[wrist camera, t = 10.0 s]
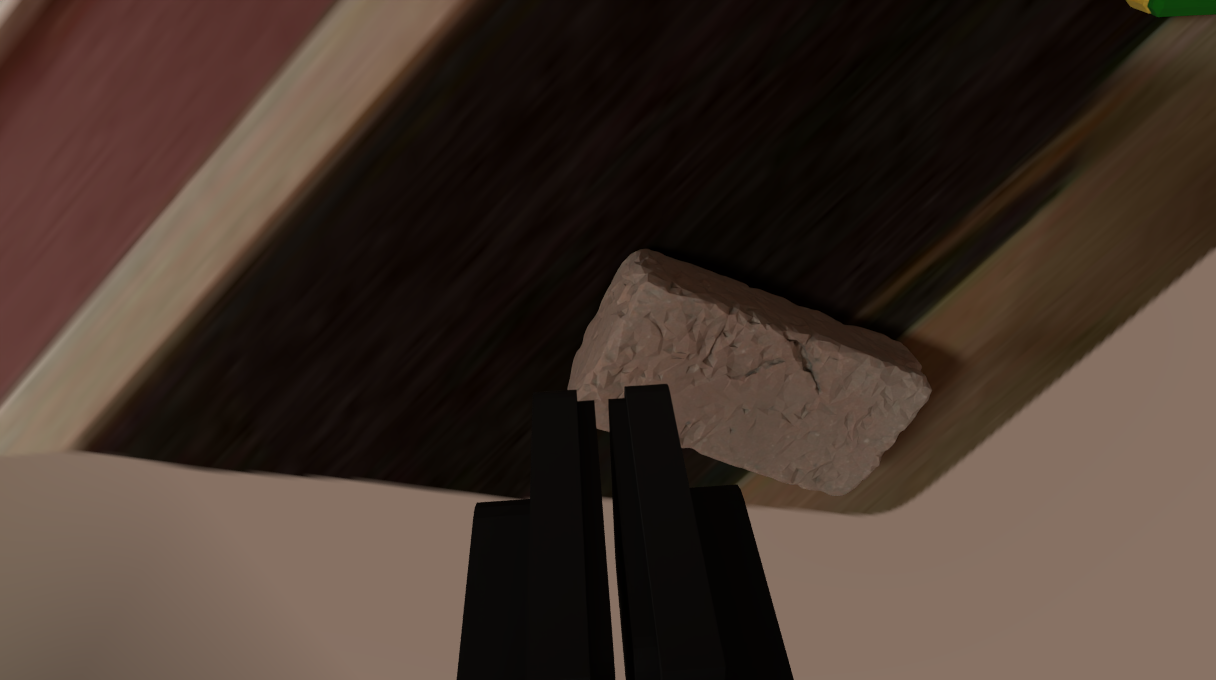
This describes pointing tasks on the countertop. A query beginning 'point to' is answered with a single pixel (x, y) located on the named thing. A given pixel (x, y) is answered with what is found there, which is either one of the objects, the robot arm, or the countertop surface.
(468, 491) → the countertop surface
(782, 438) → the brick
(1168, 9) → the dish sponge
